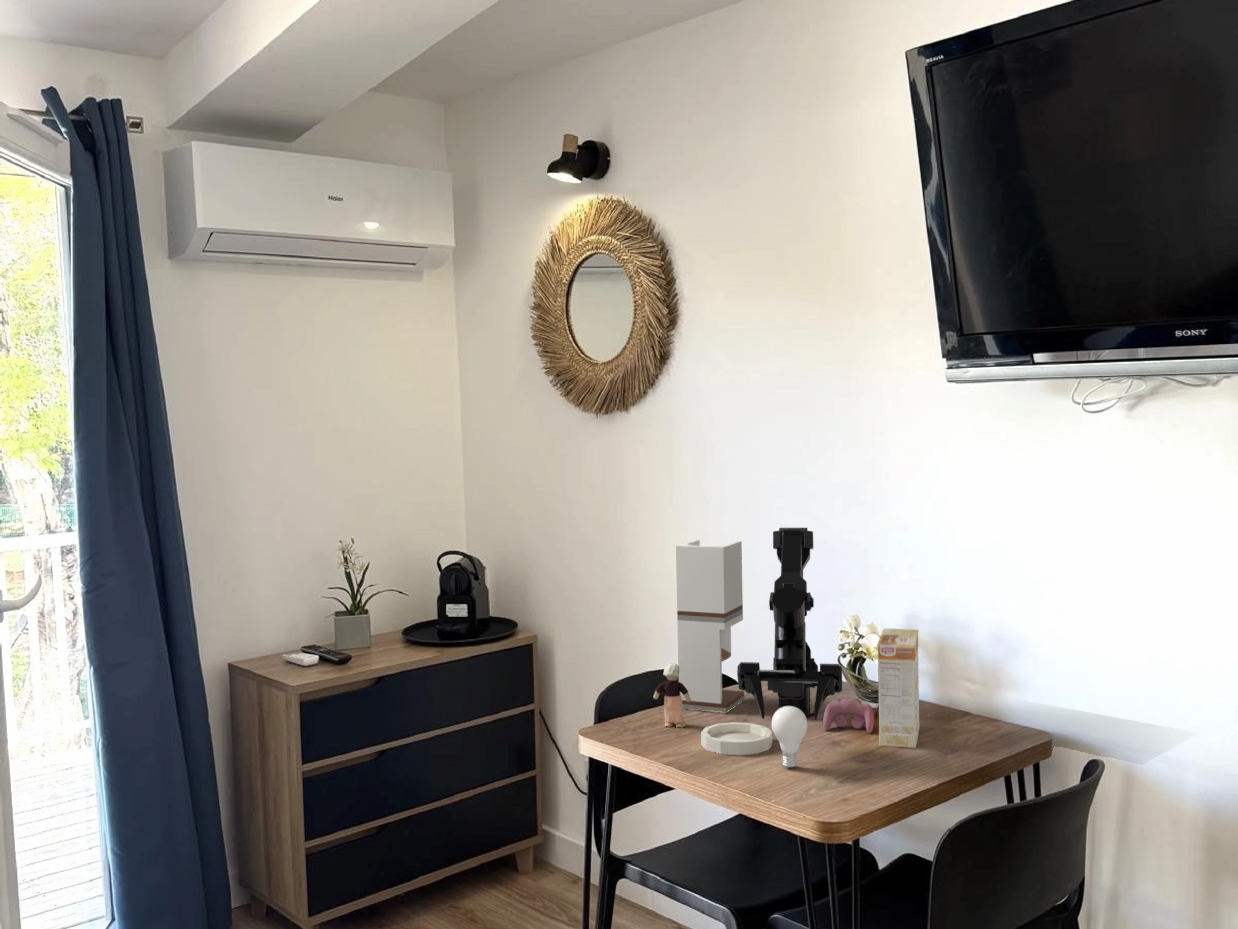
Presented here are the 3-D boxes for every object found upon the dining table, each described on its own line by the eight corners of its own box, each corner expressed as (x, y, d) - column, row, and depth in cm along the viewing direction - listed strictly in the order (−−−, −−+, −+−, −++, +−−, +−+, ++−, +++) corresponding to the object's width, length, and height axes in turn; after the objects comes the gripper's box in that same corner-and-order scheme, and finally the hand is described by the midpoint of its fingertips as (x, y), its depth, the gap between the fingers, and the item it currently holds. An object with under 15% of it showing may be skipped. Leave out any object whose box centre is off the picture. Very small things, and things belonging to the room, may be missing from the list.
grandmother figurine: (692, 723, 229) (690, 661, 229) (691, 728, 225) (690, 665, 225) (654, 722, 230) (653, 661, 229) (653, 728, 226) (651, 665, 226)
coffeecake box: (883, 724, 225) (882, 627, 224) (920, 726, 223) (919, 629, 222) (877, 746, 211) (876, 643, 210) (916, 748, 209) (915, 644, 208)
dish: (733, 730, 223) (733, 718, 223) (785, 744, 213) (785, 731, 213) (688, 745, 214) (688, 732, 214) (740, 759, 205) (739, 746, 204)
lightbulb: (768, 763, 202) (767, 702, 202) (803, 761, 203) (802, 701, 202) (776, 774, 196) (775, 712, 195) (812, 772, 196) (811, 710, 196)
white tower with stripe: (726, 714, 235) (723, 547, 234) (679, 709, 240) (675, 545, 238) (744, 700, 246) (741, 541, 244) (698, 696, 250) (695, 539, 249)
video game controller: (874, 737, 222) (876, 702, 224) (872, 733, 218) (873, 697, 221) (824, 734, 225) (826, 699, 228) (821, 729, 221) (823, 694, 224)
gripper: (840, 668, 214) (842, 742, 203) (742, 666, 217) (739, 739, 207) (841, 635, 206) (843, 710, 195) (738, 634, 209) (735, 708, 199)
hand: (789, 718), depth 199 cm, fingers open, 9 cm apart
